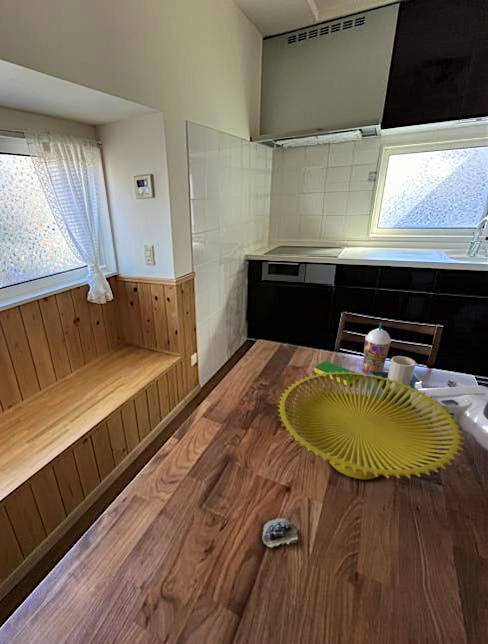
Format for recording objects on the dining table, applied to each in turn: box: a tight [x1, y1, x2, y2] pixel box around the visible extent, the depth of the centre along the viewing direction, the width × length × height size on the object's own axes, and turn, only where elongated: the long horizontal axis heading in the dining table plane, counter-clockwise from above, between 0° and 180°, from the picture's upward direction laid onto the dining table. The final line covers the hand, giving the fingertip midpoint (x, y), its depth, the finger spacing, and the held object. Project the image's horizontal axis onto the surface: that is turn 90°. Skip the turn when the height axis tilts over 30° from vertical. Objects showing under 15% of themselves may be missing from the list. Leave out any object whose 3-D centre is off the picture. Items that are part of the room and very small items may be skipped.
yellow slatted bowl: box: [276, 370, 466, 480], centre depth 86 cm, size 40×40×15 cm
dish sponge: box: [314, 360, 359, 386], centre depth 126 cm, size 7×14×2 cm, turn 37°
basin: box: [367, 370, 429, 408], centre depth 113 cm, size 15×15×5 cm
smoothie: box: [362, 322, 392, 374], centre depth 124 cm, size 8×8×20 cm
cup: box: [386, 355, 417, 393], centre depth 111 cm, size 7×7×12 cm
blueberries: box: [261, 517, 299, 548], centre depth 71 cm, size 7×8×2 cm
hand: (433, 383), depth 97 cm, fingers open, 8 cm apart
